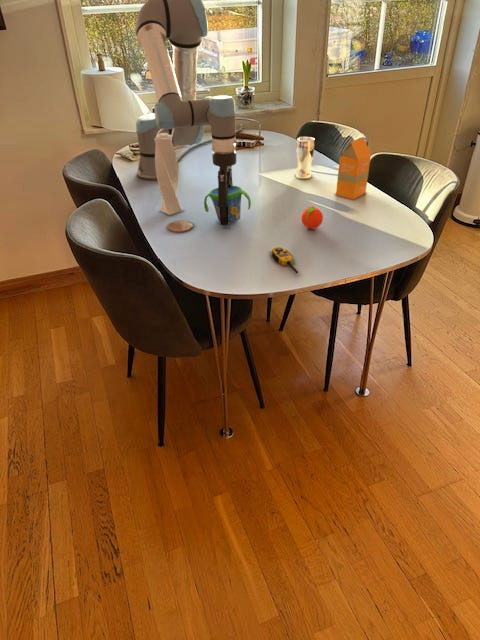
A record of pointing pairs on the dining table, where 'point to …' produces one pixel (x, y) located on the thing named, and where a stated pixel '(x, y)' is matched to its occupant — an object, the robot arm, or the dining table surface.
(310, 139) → the beer glass
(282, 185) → the dining table surface
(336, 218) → the dining table surface
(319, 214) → the clementine
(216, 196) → the snack cup
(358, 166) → the orange juice
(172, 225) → the cork coaster
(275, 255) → the yellow walkie talkie
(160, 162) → the skyscraper
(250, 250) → the dining table surface
